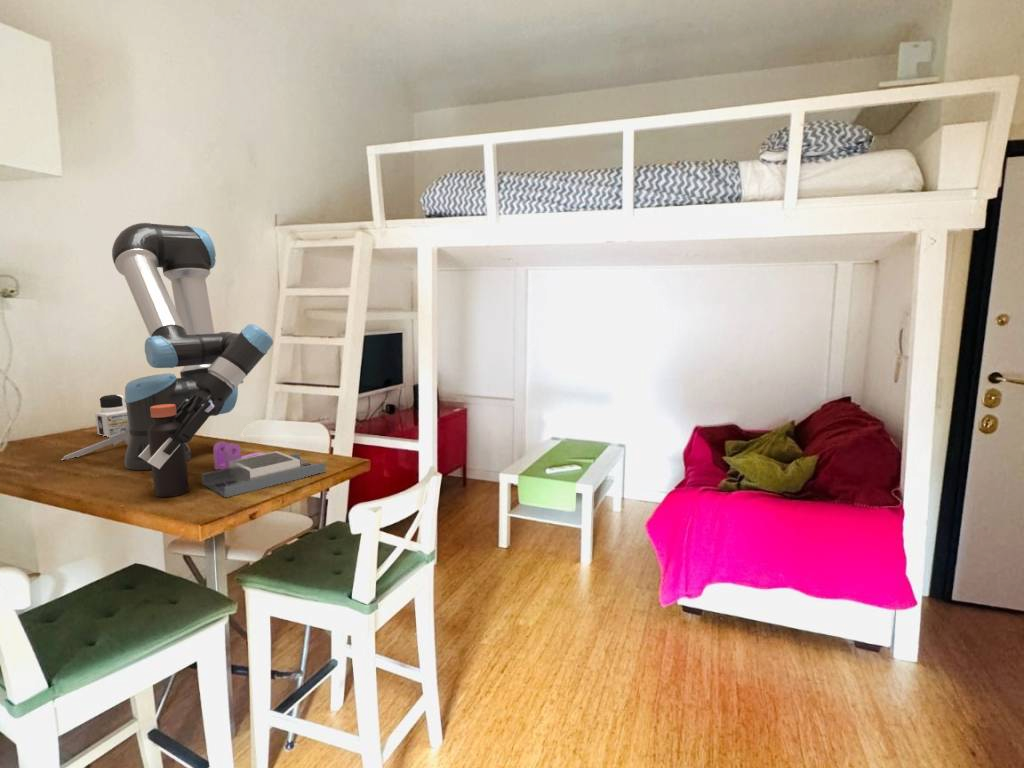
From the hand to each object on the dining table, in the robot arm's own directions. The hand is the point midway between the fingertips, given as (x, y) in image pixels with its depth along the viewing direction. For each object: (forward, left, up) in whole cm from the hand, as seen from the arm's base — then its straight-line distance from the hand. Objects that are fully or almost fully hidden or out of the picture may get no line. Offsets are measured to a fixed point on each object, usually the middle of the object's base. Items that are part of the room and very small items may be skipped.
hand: (148, 462), depth 124 cm
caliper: (-55, +2, -8) cm, 56 cm away
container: (-78, +11, -8) cm, 79 cm away
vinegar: (0, +4, -8) cm, 9 cm away
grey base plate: (+6, +23, -8) cm, 25 cm away
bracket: (-11, +24, -8) cm, 28 cm away
